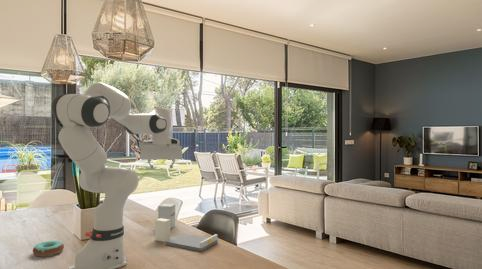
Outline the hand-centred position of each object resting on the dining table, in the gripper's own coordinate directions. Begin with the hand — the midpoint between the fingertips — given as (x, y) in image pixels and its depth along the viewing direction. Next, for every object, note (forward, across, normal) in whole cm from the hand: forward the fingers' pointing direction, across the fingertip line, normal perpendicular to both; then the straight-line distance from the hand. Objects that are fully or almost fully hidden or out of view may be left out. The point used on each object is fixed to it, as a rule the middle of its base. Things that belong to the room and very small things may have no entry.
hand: (161, 168), depth 166 cm
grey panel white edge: (+35, +14, -9) cm, 39 cm away
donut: (+36, -49, -5) cm, 61 cm away
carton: (+35, +1, 0) cm, 35 cm away
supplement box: (+36, +4, +22) cm, 42 cm away
